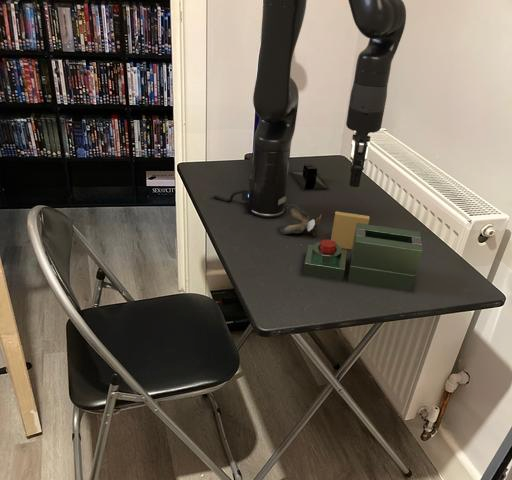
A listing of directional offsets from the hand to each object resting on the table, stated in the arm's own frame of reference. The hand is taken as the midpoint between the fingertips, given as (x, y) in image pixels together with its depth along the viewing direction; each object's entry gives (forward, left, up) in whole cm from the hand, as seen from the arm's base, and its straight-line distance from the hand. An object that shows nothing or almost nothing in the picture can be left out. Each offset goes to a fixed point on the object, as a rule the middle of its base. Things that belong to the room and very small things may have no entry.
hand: (354, 179), depth 130 cm
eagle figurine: (-11, +2, -16) cm, 20 cm away
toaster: (+9, -14, -16) cm, 23 cm away
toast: (+1, -2, -16) cm, 16 cm away
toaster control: (-4, -14, -16) cm, 22 cm away
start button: (-4, -14, -12) cm, 18 cm away
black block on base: (-12, +36, -16) cm, 41 cm away
